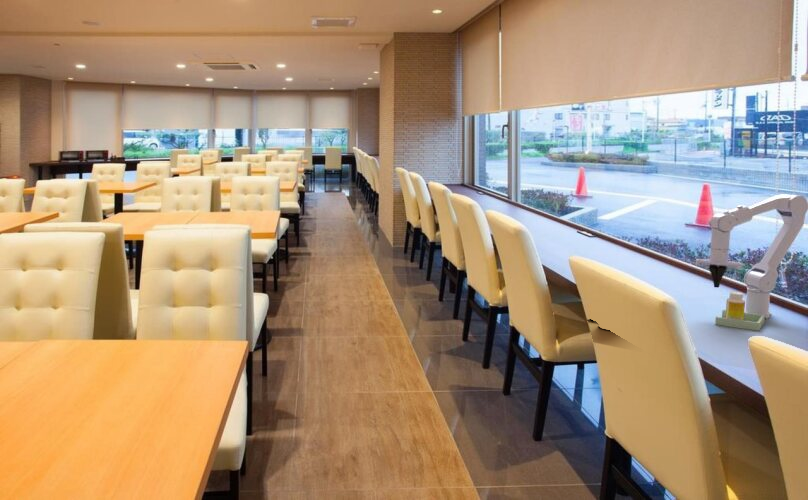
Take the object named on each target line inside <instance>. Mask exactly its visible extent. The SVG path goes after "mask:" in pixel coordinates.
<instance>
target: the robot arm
mask: <svg viewBox="0 0 808 500" xmlns="http://www.w3.org/2000/svg"><path fill="white" fill-rule="evenodd" d="M774 210H776V212H777V214H778V215H779V216H780V218H782V220H783V225H782V226H781V228H779V231H778V233H777V234H776V236H775V237H774V239H773V240H772V242H771V243H770V246H769V247H768V249H767V250H766V252H765V254H764V255H763V257H762V258H761V260H760V261H759V262H757V263H755V264H754V265H752V267H751V269H749V270H748V271H747V272H746V273H745V274H744V275H743V282H744V284H745V285H746V289H747V290H746V298H745V299H746V300H745V309H744V312H745V313H752V314H760V315H765V318H764V319H769V317H771V314H772V312H771V311H769V310H770V309H769V308H770V301H771V293H772V291H773V290H774V288H775V287H776V284H777V279H778V277H779V275H780V274H779V273H778V270H777V268H778V267H779V265H781V262H782V261H783V260H784V258H785V255H786V254H787V253H788V251H789V249H790V248H791V246H792V245H793V243H794V241H795V240H796V238H797V236H798V235H799V233H800V231H801V229H802V228H803V226H804V224H805V219H806V218H805V217H806V214H807V212H808V199H807V198H806V197H805V196H803V195H800V194H797V195H795V194H786V193H780V194H778V195H774V196H771V197H770V198H767V199H765V200H763V201H760V202H758V203H756V204H753V205H751V206H747V205H741V204H739V205H737V206H736V208H733V209H731V210H725V211H723V213H716V214H714V215H713V216H712V217H711V218H710V220H709V221H708V226H709V227H710V229H711V231H710V233H711V239H710V249H709V250H710V252H709V259H708V258H696V259H695V266H699V265H700V266H706V267H707V266H708V271H709V272H710V275H711V277H712V278H711V279H712V283H713V288H716V289H717V288H720V285H721V282H722V279H723V277H724V275H725V273H726V271H727V269H728V268H731V269H737V270H742V268H743V262H738V261H730V260H729V253H730V251H729V250H730V239H731V231H732V230H733V229H734V228H735V227H737V226H740V225H743V224H745V223H748V222H751V221H752V219H753V217H755V216H757V215H758V216H759V215H761V214H763V213H767V212H770V211H774Z"/></svg>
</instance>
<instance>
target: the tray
mask: <svg viewBox="0 0 808 500" xmlns="http://www.w3.org/2000/svg"><path fill="white" fill-rule="evenodd" d="M725 315H726V309H722V312H721V316H715V321H714V322H715V325H716V326H725V327H731V328H738V329H744V330H751V331H752V330H753V331H759V332H760V330H761V329H762V326H763V325H764V323H765V319H766V318H765V315H760V314H752V313H745V311H744V320H737V319H730V318H725Z"/></svg>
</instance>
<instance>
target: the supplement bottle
mask: <svg viewBox="0 0 808 500" xmlns="http://www.w3.org/2000/svg"><path fill="white" fill-rule="evenodd" d="M725 304H726V306H725V310H726V315H725V317H724V318H730V319H737V320H744V312H745V310H746V300H745V299H744V293H742V292H738V291H731V292H730V293H729V297H727V299H726V303H725ZM744 321H745V320H744Z"/></svg>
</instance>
